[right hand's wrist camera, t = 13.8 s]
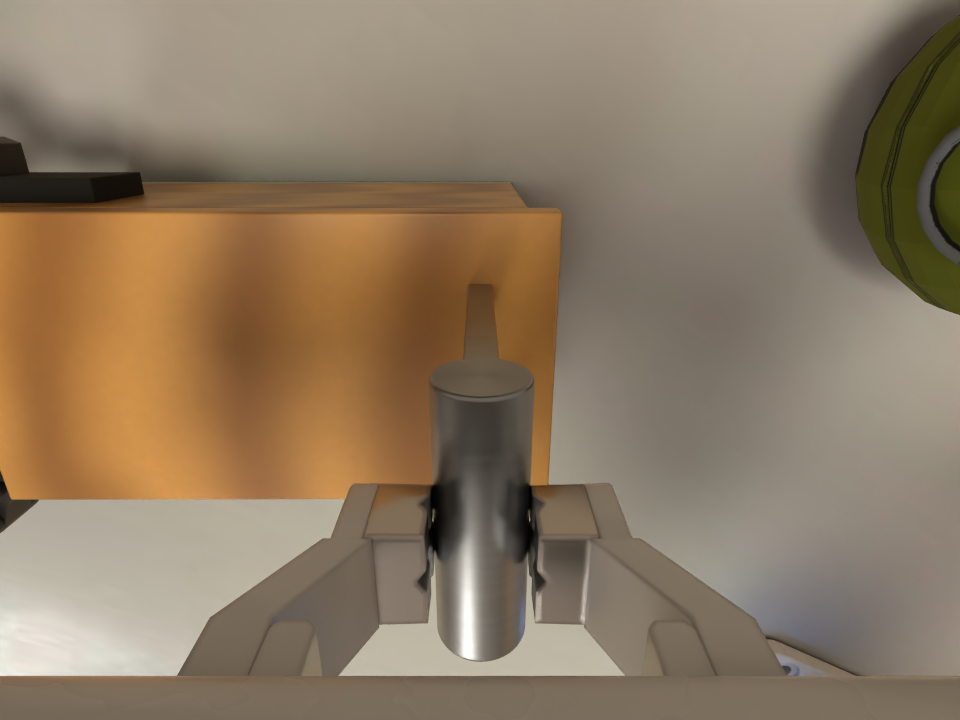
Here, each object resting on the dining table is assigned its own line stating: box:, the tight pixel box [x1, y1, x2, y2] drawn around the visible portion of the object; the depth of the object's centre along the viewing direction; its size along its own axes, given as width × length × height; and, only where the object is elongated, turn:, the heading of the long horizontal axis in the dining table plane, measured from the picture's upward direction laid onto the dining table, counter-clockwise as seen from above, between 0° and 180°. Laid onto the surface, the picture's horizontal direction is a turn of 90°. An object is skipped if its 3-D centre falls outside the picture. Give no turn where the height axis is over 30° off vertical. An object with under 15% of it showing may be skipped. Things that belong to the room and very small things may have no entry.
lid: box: [0, 208, 563, 662], centre depth 14 cm, size 18×9×9 cm, turn 90°
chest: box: [0, 182, 527, 208], centre depth 22 cm, size 17×9×9 cm, turn 90°
